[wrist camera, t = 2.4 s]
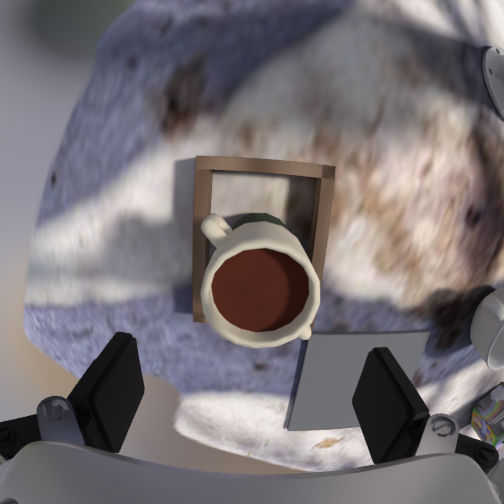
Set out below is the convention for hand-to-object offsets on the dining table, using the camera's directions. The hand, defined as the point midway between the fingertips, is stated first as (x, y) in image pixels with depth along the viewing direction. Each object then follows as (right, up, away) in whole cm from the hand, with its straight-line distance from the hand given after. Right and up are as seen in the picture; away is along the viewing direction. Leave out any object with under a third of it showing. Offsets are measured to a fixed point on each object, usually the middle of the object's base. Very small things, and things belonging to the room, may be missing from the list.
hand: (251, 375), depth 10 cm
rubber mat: (+14, -14, +24) cm, 31 cm away
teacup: (+34, -3, +21) cm, 40 cm away
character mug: (+1, +6, +19) cm, 20 cm away
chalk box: (+50, -28, +27) cm, 64 cm away
